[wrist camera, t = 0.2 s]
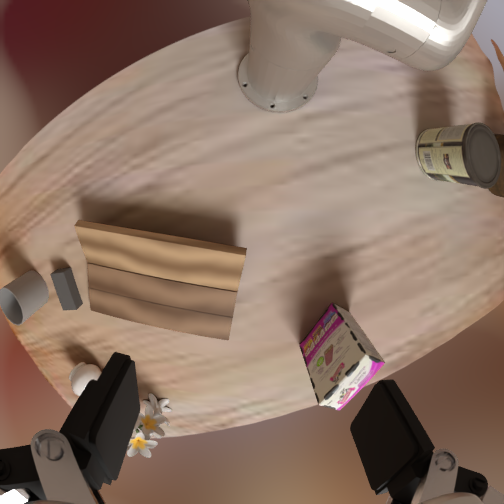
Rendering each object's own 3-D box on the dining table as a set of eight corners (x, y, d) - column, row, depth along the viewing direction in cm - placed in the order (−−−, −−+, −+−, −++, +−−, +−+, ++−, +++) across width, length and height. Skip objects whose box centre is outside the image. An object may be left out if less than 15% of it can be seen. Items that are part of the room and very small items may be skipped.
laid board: (91, 260, 45) (87, 263, 43) (237, 288, 47) (237, 292, 45) (93, 306, 47) (90, 310, 46) (228, 335, 50) (228, 340, 48)
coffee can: (458, 157, 40) (507, 161, 27) (435, 191, 43) (485, 202, 29) (431, 117, 38) (481, 110, 25) (406, 150, 40) (457, 149, 27)
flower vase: (99, 361, 60) (173, 420, 58) (55, 400, 43) (138, 470, 41) (104, 334, 54) (190, 402, 53) (51, 377, 38) (149, 461, 36)
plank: (78, 219, 38) (74, 225, 37) (246, 248, 40) (245, 255, 39) (90, 256, 44) (87, 262, 43) (238, 284, 46) (237, 291, 45)
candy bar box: (318, 353, 52) (339, 412, 36) (298, 345, 51) (316, 406, 35) (351, 311, 49) (387, 363, 33) (332, 300, 48) (365, 354, 33)
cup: (44, 272, 45) (16, 290, 35) (52, 306, 47) (27, 328, 38) (21, 269, 45) (-6, 285, 35) (29, 301, 47) (5, 320, 37)
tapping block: (58, 268, 45) (50, 274, 42) (71, 266, 45) (63, 272, 42) (70, 303, 48) (63, 310, 45) (83, 302, 47) (76, 309, 45)
